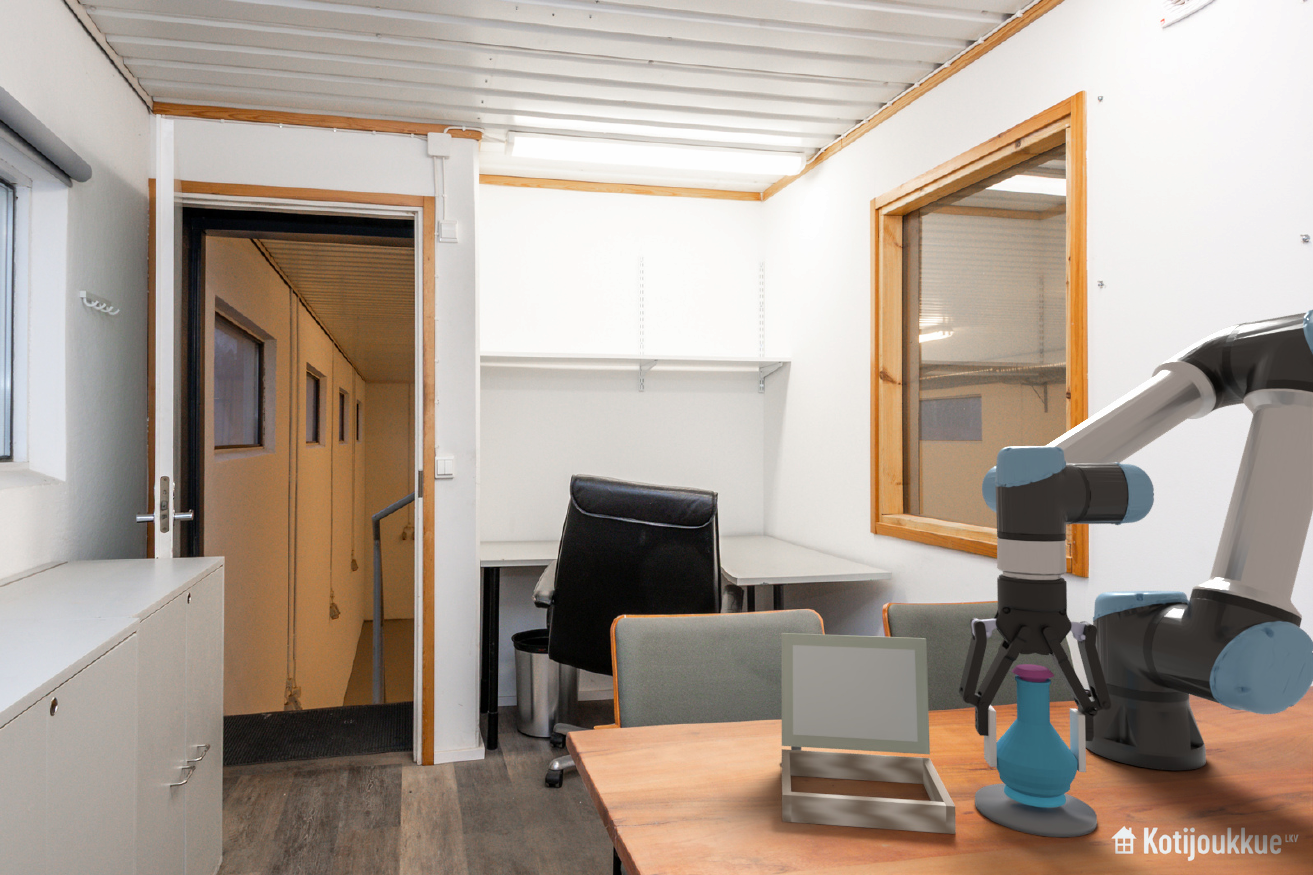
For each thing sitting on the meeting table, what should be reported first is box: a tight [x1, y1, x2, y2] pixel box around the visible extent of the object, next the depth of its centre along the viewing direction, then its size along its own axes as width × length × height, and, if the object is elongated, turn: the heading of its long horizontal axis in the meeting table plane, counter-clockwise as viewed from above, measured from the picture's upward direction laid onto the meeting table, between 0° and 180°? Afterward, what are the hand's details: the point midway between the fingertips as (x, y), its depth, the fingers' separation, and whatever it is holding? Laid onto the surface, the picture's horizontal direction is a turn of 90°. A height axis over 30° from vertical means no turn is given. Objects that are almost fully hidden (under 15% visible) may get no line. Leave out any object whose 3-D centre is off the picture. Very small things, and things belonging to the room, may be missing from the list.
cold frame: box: [781, 748, 957, 835], centre depth 97 cm, size 19×15×3 cm
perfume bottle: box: [995, 663, 1078, 808], centre depth 94 cm, size 9×9×15 cm
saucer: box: [974, 782, 1098, 838], centre depth 94 cm, size 13×13×1 cm
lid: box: [781, 632, 931, 755], centre depth 105 cm, size 19×15×1 cm
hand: (1034, 765), depth 94 cm, fingers closed on perfume bottle, 9 cm apart
